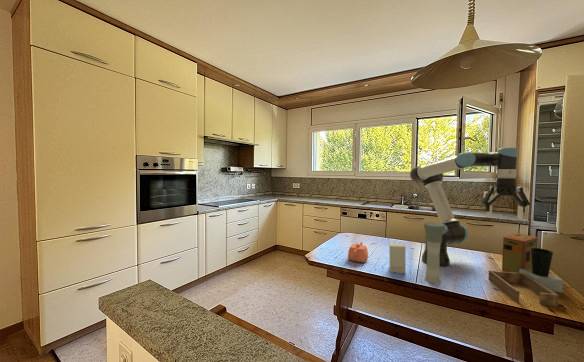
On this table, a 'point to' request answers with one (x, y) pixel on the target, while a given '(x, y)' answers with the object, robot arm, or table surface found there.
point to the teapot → (358, 253)
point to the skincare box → (397, 257)
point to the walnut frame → (503, 277)
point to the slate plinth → (545, 280)
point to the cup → (541, 261)
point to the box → (517, 252)
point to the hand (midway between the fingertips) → (504, 218)
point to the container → (433, 250)
